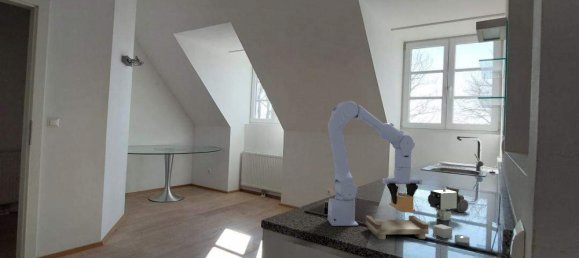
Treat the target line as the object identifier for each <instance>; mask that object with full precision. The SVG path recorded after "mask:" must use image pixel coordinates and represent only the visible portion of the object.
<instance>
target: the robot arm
mask: <svg viewBox="0 0 579 258" xmlns="http://www.w3.org/2000/svg"><path fill="white" fill-rule="evenodd" d="M352 119H354V120H360V121H362V122H363V123H365V124H367V125H368V126H370V127H371V128H373V129H375V130H376V131H377V134H378V136H379V137H380V138H383V140H385V141H386V142H388V143H390V145H392V147H393V149H394V171H393V172H394V174H393V175H394V177H383V178H382V181H381V182H382V184H383V185H386V187H387V189H388V190H389V193H390V194H389V195H390V198H391V197H392V203H394V204H397V193H398V192H399V186H397V185H405V188H406V194H408V195H410V196H412V197H414V196H415V194H416V192H417V191H418V188H419V185H420V186H421V185H423V179H421V178H413V177H412V176H411V174H412V152H413V149H414V147H415V146H416V145H415V144H416V143H415V141H414V139H413V138H412V136H410V135H407V134H404V133H405V131H403V130H399V129H398V128H396V127H395V124H394V123H391V122H384V123H383V122H382V121H381V120H380V119H378V118H377V117H376V116H374V115H373V114H372V113H371V112H369V111H368V110H367V109H365V108H364V107H363V106H362V105H360V104H357V103H356V102H355V101H353V100H346V101H343V102H339V103H337V104H336V105H335V106H334V107H333V108H332V110H331V114H330V117H329V119H328V122H327V132H328V138H329V145H330V149H331V153H332V155H331V156H332V159H333V166H334V171H335V174H334V182H333V190H334V192H335V193H336V194H335V196H334V197H333V198H328V202H327V203H328V205H327V221H328V222H329V224H330V225H331V226H333V227H340V226H341V227H343V226H344V227H347V226H351V227H352V226H354V227H355V226H359V223H358V222H357V221H356V220H355V218H356V217H355V216H356V215H355V214H356V197H357V195H358V192H359V190H358V187H357V185H356V183H355V182H354V177H353V176H352V174H351V172H350V165H349V159H348V156H347V155H348V153H347V148H346V142H345V138H344V131H343V128H344V127H345V126H346V125H347V123H349V121H351V120H352ZM411 177H412V178H411Z"/></svg>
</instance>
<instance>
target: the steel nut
mask: <svg viewBox="0 0 579 258" xmlns="http://www.w3.org/2000/svg"><path fill="white" fill-rule="evenodd" d="M470 241H471V240H470V237H469V236H467V235H464V234H455V235H454V243H455V244H456V245H458V246H459V245H460V246H470V245H469V244H470Z"/></svg>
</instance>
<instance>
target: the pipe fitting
mask: <svg viewBox="0 0 579 258" xmlns="http://www.w3.org/2000/svg"><path fill="white" fill-rule="evenodd" d="M446 190H451V191H456V192H458V195H459V196H460V203H459V204H458V208H453V209H452V210H454V211H455V212H458V213H460V214H463V213H465V212H467V210H468V209H469V201H468V200H467V199H465V196H464V194H461V193H459V192H460V188H458V187H457V186H453V185H446Z"/></svg>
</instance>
